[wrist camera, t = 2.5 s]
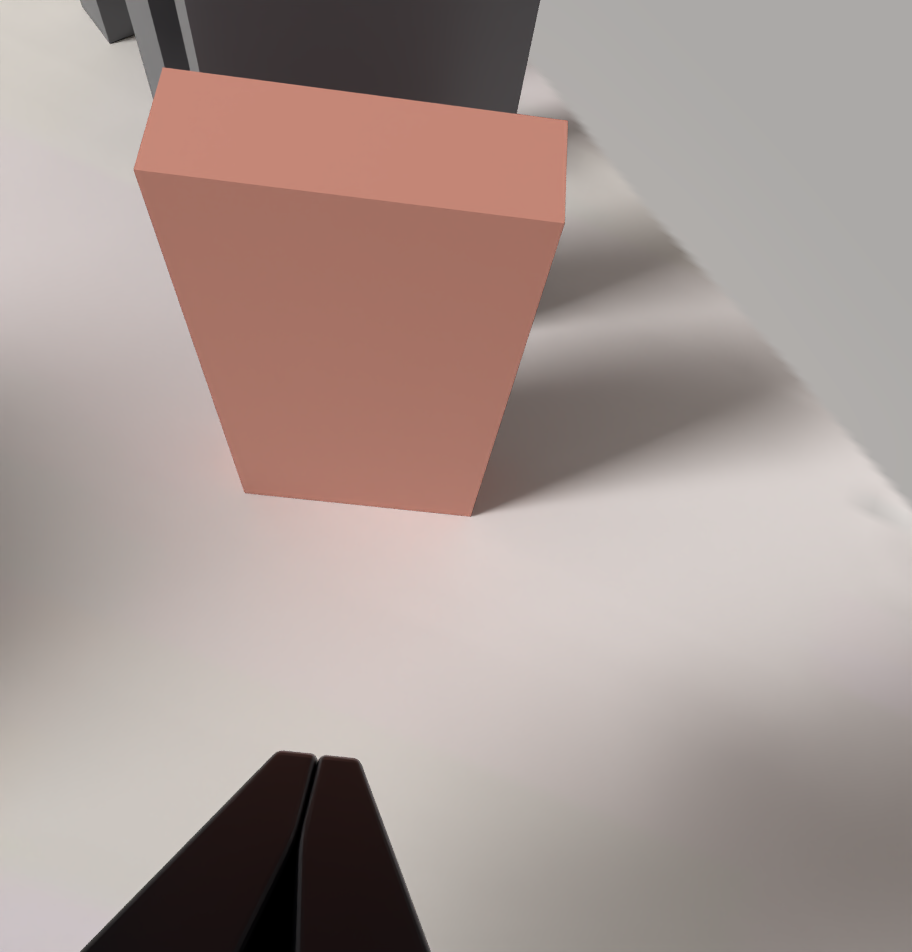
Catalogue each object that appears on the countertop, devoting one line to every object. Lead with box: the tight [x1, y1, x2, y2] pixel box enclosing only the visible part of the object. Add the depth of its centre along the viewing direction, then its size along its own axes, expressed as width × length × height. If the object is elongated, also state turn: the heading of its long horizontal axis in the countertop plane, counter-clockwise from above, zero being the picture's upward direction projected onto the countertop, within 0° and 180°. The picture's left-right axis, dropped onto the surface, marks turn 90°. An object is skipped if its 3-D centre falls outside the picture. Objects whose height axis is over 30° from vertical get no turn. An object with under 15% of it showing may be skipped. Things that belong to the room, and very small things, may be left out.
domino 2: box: [134, 67, 568, 517], centre depth 15 cm, size 2×5×10 cm, turn 86°
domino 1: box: [184, 0, 540, 114], centre depth 17 cm, size 2×5×10 cm, turn 100°
